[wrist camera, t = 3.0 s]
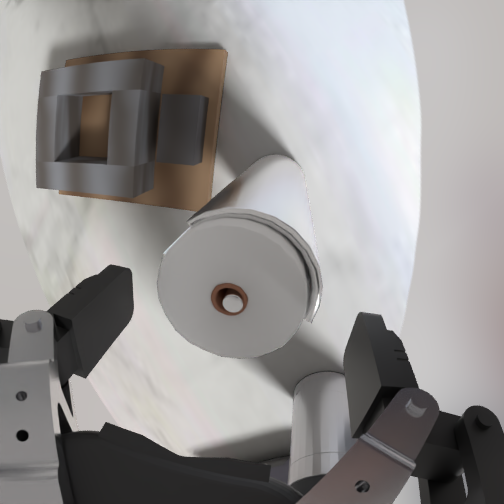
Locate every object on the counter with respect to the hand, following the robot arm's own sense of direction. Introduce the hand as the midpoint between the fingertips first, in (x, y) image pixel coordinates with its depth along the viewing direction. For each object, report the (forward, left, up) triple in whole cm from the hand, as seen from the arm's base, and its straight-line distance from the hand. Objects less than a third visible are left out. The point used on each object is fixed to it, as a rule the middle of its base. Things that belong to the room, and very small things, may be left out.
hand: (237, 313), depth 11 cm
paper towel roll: (0, 0, -26) cm, 26 cm away
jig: (+18, -5, -26) cm, 32 cm away
